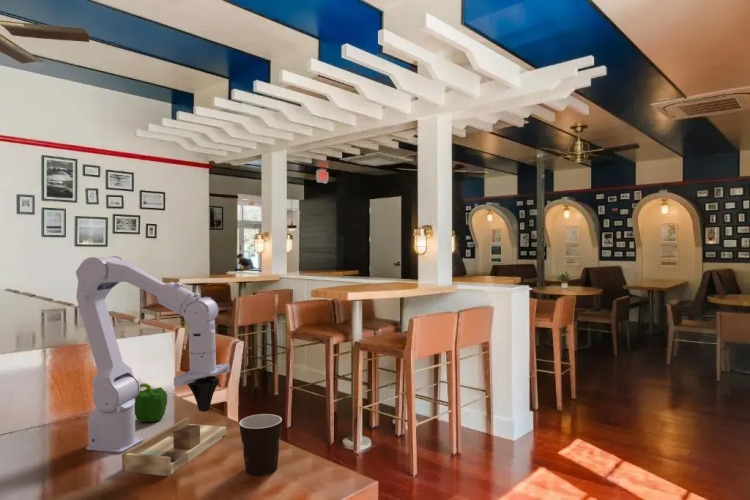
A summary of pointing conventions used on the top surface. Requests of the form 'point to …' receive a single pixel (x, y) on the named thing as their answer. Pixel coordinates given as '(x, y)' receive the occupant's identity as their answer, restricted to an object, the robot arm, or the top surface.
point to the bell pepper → (150, 404)
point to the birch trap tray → (167, 451)
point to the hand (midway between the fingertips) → (204, 410)
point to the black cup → (261, 443)
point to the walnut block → (186, 437)
